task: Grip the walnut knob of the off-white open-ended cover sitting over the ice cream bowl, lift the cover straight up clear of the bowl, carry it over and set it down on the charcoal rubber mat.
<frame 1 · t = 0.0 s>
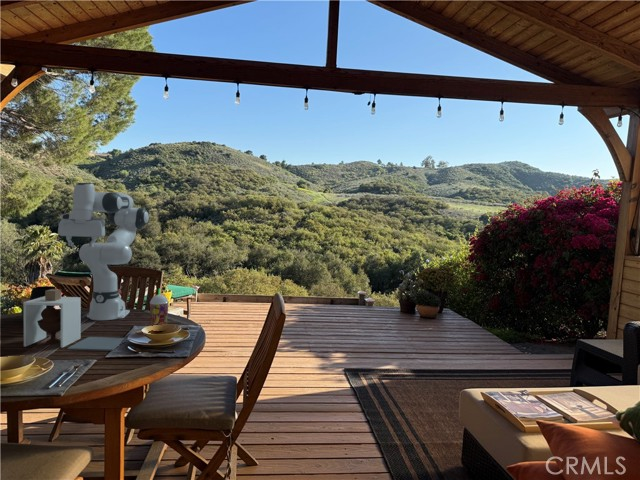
hand: (81, 246, 196), 39 cm above the table, tool pointing down, fingers open, 8 cm apart
bell pepper: (32, 322, 209), on the table
wine glass: (44, 331, 193), on the table
ice cream bowl: (53, 342, 177), on the table
smoothie: (159, 331, 200), on the table
cover: (53, 342, 177), on the table
mat: (100, 344, 176), on the table
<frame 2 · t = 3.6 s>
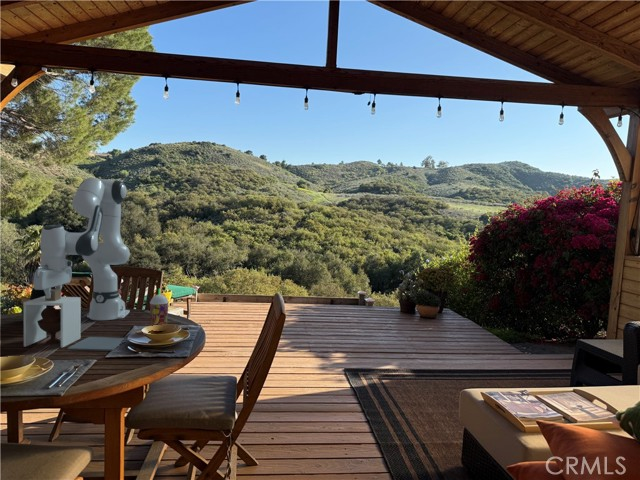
hand: (53, 297, 176), 19 cm above the table, tool pointing down, fingers closed on cover, 4 cm apart
cover: (53, 342, 177), on the table, touching gripper
everything else where it was.
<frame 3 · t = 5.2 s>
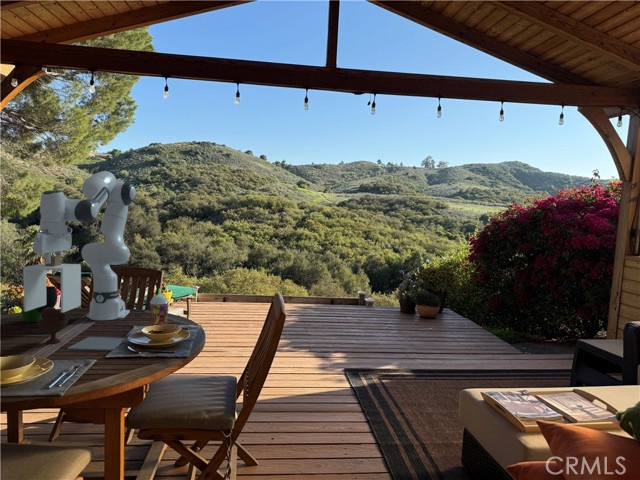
hand: (53, 262, 176), 33 cm above the table, tool pointing down, fingers closed on cover, 4 cm apart
cover: (53, 308, 177), point 14 cm above the table, touching gripper
everything else where it was.
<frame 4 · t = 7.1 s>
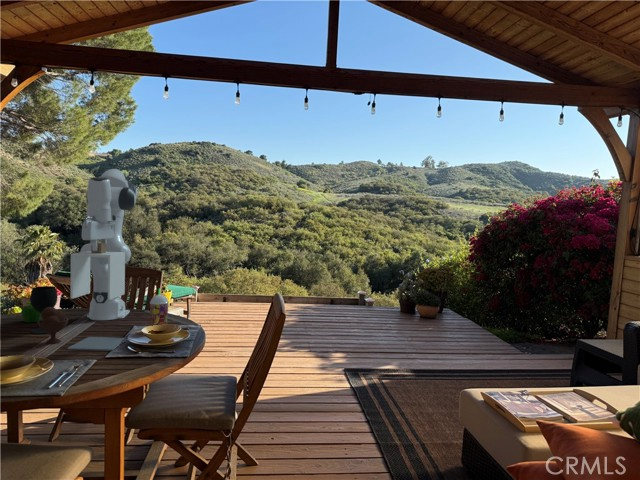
hand: (99, 250, 174), 39 cm above the table, tool pointing down, fingers closed on cover, 4 cm apart
cover: (98, 296, 175), point 20 cm above the table, touching gripper
everything else where it was.
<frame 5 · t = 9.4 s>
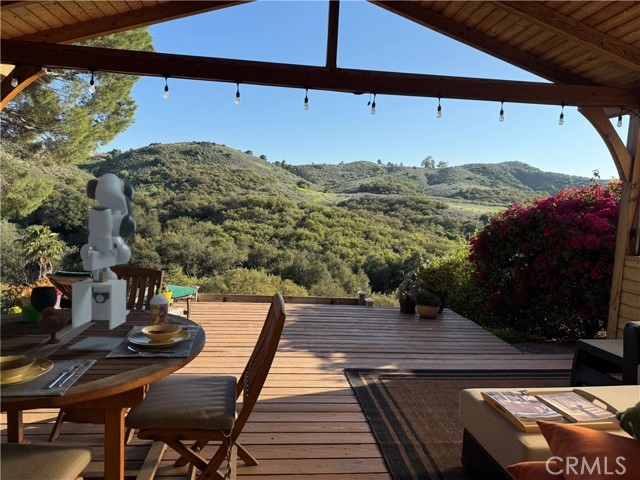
hand: (100, 279, 175), 27 cm above the table, tool pointing down, fingers closed on cover, 4 cm apart
cover: (99, 324, 176), point 8 cm above the table, touching gripper
everything else where it was.
when the fingers open (21 cm above the table, at t = 11.0 s): cover drops 1 cm, resting on mat.
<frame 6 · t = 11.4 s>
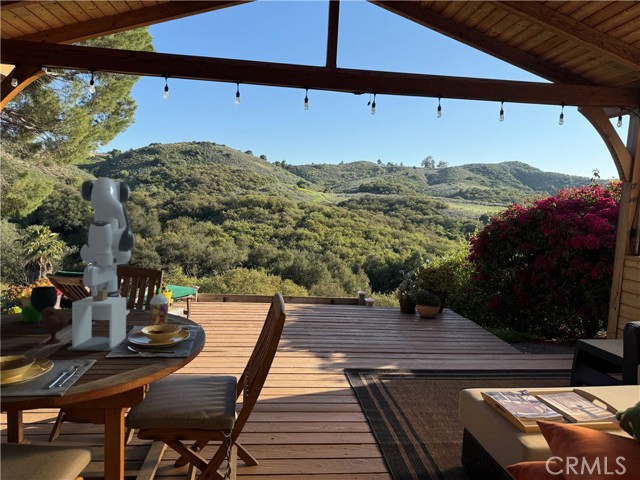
hand: (100, 293, 175), 21 cm above the table, tool pointing down, fingers open, 8 cm apart
cover: (100, 342, 177), point 1 cm above the table, touching mat
everything else where it was.
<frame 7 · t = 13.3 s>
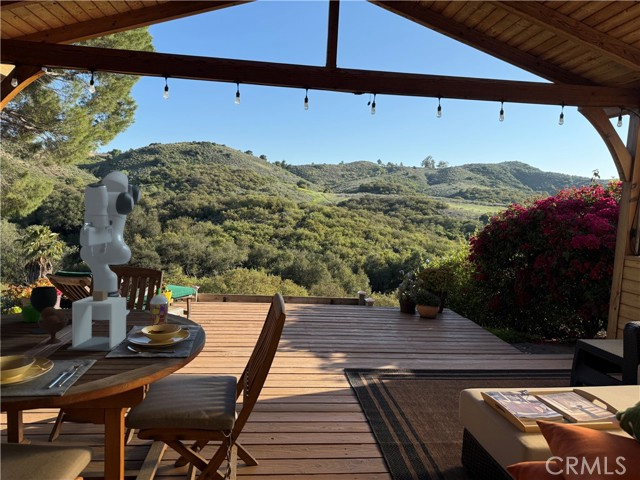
hand: (97, 254, 179), 37 cm above the table, tool pointing down, fingers open, 8 cm apart
nothing on the table moved.
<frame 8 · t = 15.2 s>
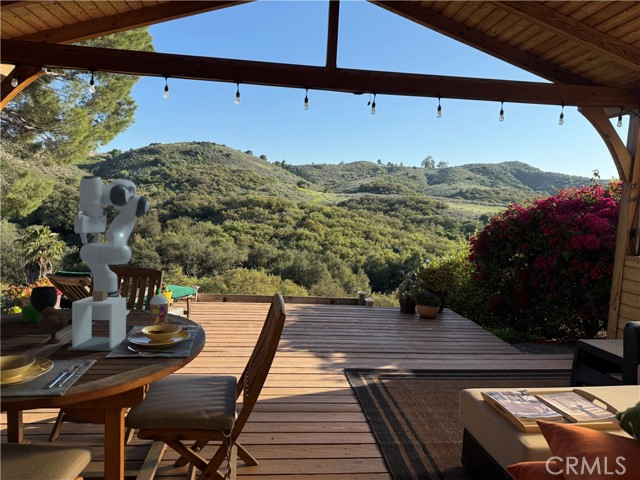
hand: (90, 242, 189), 41 cm above the table, tool pointing down, fingers open, 8 cm apart
nothing on the table moved.
at the end: cover inside the target area on the mat (0.2 cm from its centre), point 0.6 cm above the mat's base; cover tilted 0°; ice cream bowl moved 0.2 cm from its start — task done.
